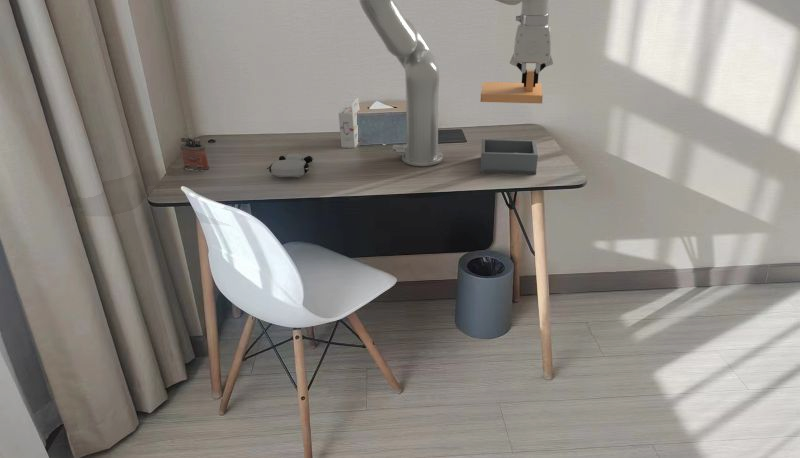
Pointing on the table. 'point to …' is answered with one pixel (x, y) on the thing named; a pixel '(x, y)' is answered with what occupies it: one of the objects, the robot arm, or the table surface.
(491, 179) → the table surface
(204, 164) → the lighter
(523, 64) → the robot arm
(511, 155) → the tub
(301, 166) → the robot toy
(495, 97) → the lid
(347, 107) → the ink cartridge box
